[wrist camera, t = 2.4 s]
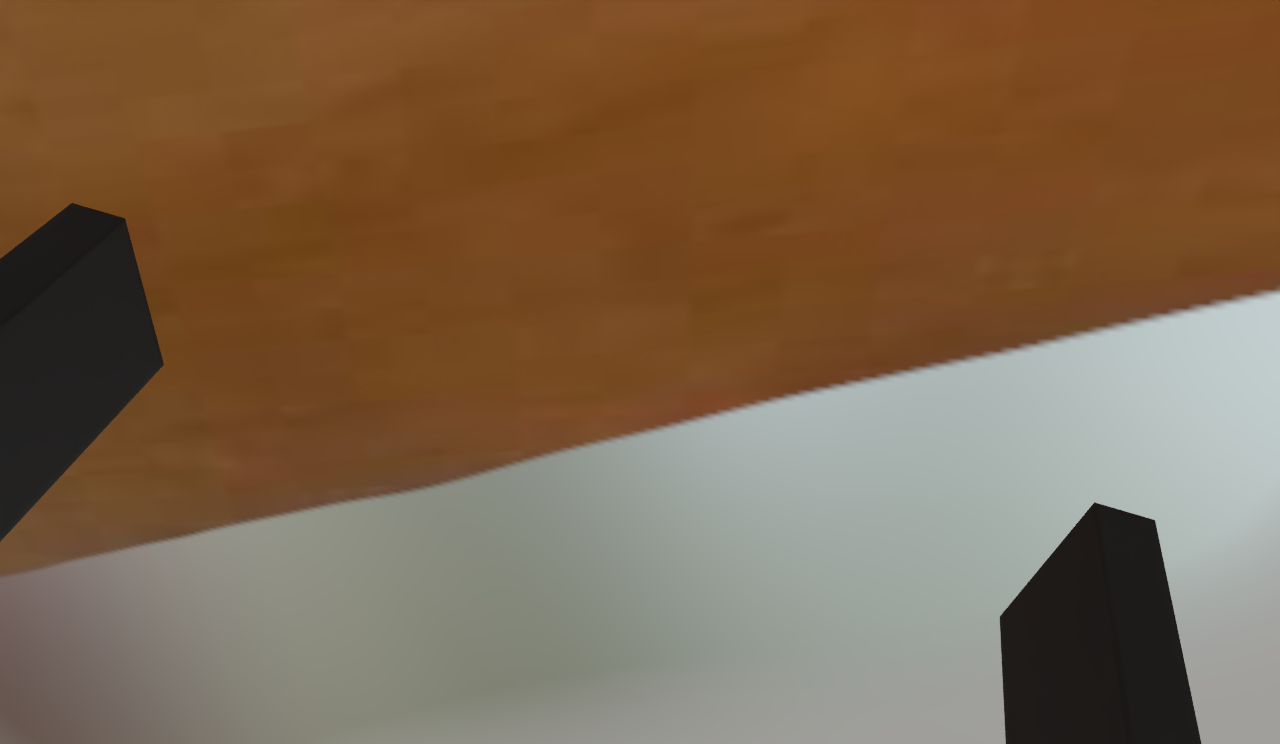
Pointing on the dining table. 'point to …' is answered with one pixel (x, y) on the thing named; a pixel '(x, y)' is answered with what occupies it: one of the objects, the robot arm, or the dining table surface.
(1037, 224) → the dining table surface
